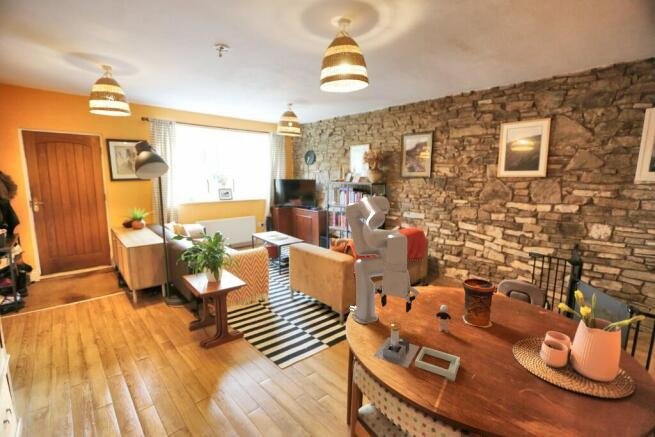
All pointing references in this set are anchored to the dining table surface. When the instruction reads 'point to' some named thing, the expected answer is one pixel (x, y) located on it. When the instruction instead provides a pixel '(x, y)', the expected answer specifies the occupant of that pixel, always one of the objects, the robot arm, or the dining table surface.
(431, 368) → the rectangular frame
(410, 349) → the tensioner block
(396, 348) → the pin
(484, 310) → the vessel
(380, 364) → the dining table surface
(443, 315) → the grandmother figurine
